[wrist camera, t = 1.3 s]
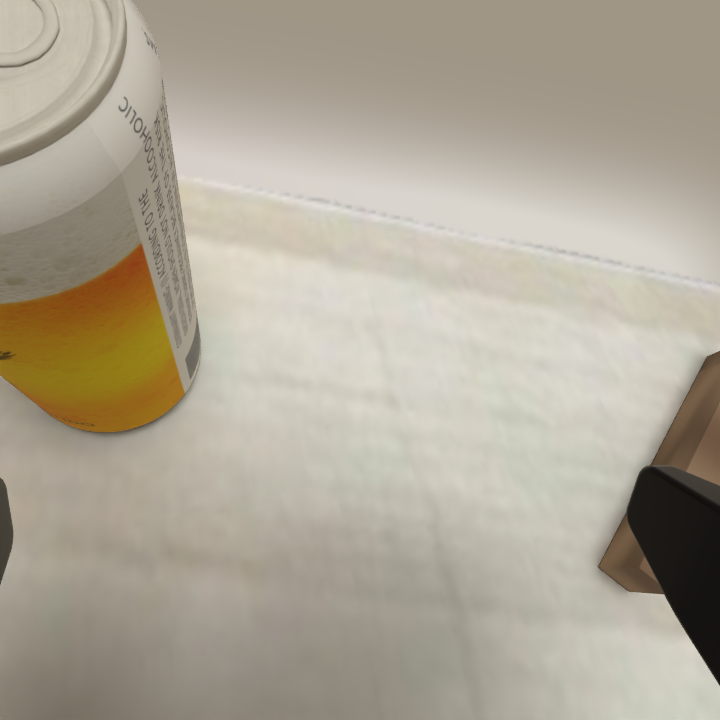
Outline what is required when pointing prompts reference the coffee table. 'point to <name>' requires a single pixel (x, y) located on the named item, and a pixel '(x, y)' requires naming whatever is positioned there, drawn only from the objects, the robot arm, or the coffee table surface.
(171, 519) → the coffee table surface
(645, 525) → the robot arm
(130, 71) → the beer can
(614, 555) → the frame
